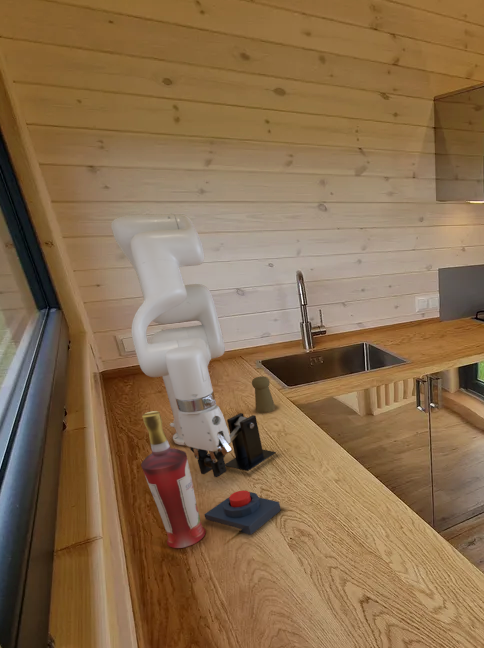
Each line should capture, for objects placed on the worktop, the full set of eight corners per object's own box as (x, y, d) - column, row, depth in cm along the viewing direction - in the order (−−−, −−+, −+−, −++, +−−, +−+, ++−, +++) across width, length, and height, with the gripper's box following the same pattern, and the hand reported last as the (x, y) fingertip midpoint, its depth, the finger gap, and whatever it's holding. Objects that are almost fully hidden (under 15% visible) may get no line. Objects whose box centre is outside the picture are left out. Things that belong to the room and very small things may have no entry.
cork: (269, 413, 155) (262, 381, 151) (252, 412, 156) (245, 380, 152) (279, 406, 161) (273, 374, 156) (262, 405, 162) (256, 373, 158)
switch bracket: (248, 474, 121) (238, 428, 116) (224, 469, 124) (213, 423, 119) (276, 455, 130) (268, 412, 125) (252, 451, 132) (243, 408, 127)
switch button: (226, 505, 102) (224, 498, 102) (240, 495, 106) (239, 488, 105) (241, 509, 101) (239, 502, 100) (255, 499, 105) (253, 492, 104)
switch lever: (215, 471, 114) (208, 462, 112) (204, 469, 115) (197, 460, 113) (254, 425, 124) (248, 416, 122) (244, 423, 125) (238, 414, 123)
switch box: (206, 522, 103) (202, 507, 102) (238, 499, 111) (235, 484, 109) (250, 535, 99) (247, 518, 97) (281, 510, 107) (278, 495, 105)
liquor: (169, 535, 99) (130, 410, 88) (209, 526, 102) (176, 403, 91) (165, 558, 93) (122, 426, 82) (207, 547, 96) (171, 418, 85)
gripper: (237, 400, 109) (252, 471, 116) (183, 391, 115) (200, 459, 122) (210, 413, 103) (228, 487, 110) (154, 403, 108) (174, 474, 115)
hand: (213, 472), depth 116 cm, fingers closed on switch lever, 3 cm apart
